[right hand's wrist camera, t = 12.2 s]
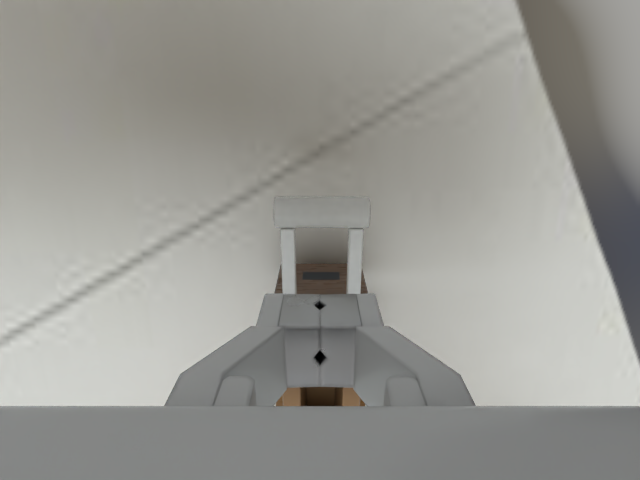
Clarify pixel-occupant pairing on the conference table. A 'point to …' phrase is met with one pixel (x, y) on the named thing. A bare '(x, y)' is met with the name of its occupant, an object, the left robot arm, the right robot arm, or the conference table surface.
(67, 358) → the conference table surface
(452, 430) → the right robot arm
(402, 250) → the conference table surface
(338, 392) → the drawer
